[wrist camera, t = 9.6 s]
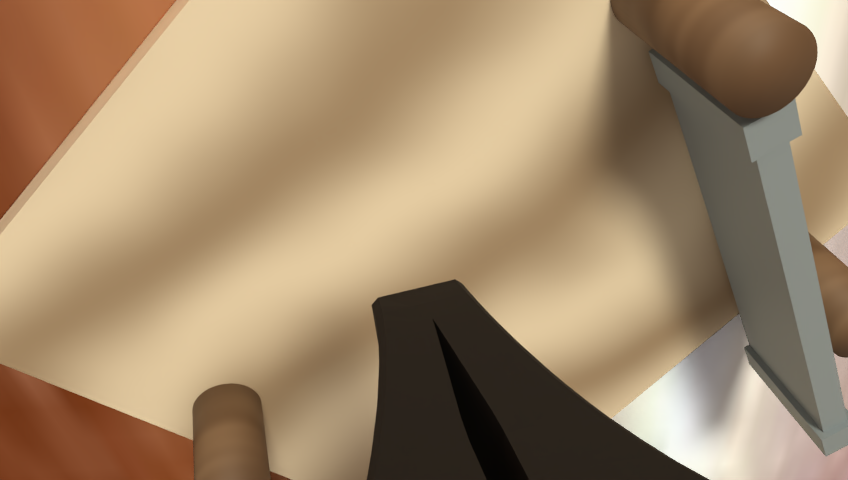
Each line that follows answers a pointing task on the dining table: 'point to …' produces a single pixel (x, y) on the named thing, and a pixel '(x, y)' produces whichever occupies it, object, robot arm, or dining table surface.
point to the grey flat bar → (764, 249)
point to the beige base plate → (393, 207)
